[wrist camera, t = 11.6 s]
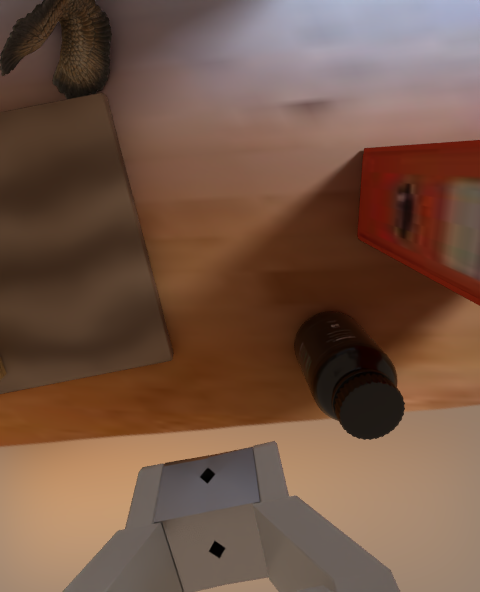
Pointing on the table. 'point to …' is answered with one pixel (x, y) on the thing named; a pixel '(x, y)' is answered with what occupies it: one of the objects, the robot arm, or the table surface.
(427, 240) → the file binder
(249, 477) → the robot arm
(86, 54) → the eagle figurine
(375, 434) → the supplement bottle
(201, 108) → the table surface
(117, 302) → the walnut base plate
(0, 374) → the brass link
